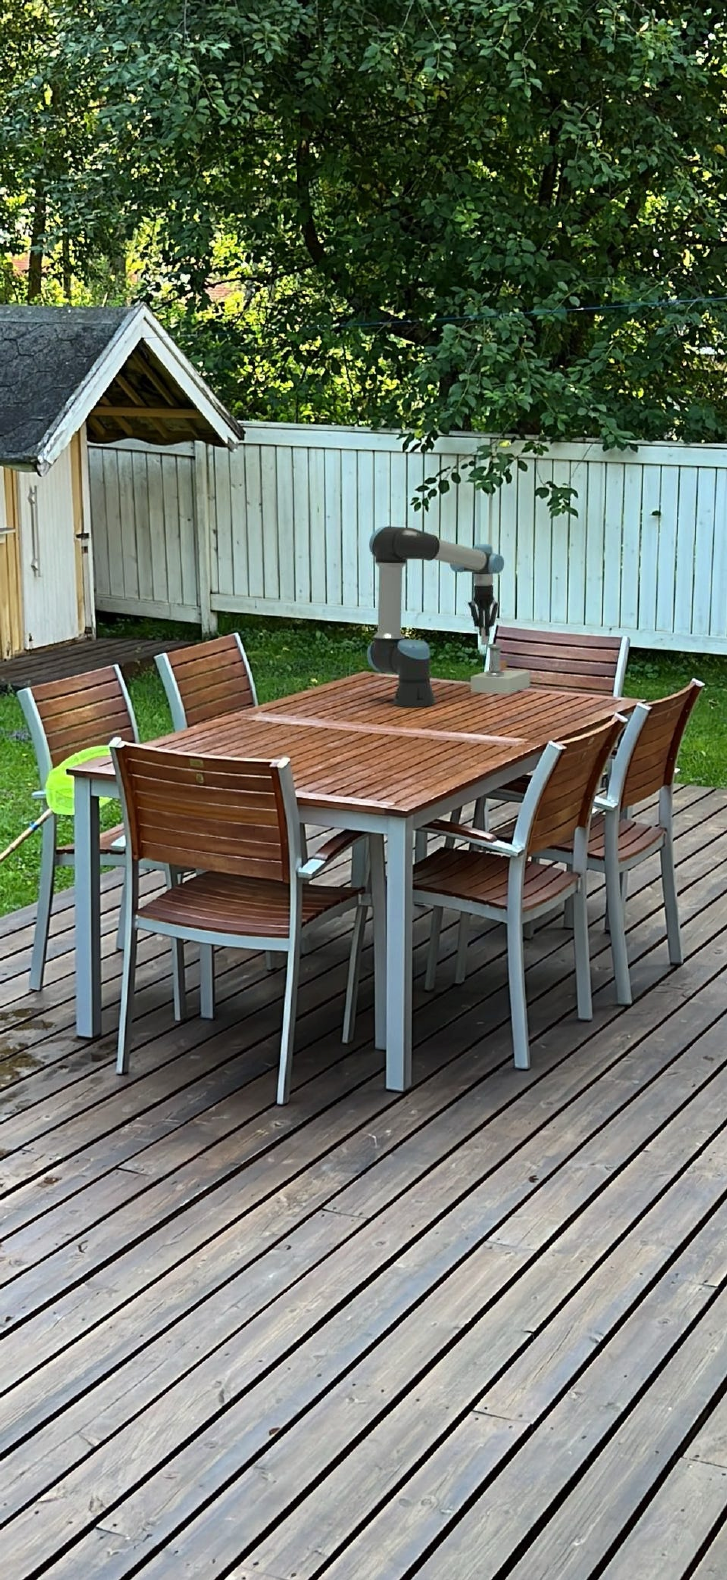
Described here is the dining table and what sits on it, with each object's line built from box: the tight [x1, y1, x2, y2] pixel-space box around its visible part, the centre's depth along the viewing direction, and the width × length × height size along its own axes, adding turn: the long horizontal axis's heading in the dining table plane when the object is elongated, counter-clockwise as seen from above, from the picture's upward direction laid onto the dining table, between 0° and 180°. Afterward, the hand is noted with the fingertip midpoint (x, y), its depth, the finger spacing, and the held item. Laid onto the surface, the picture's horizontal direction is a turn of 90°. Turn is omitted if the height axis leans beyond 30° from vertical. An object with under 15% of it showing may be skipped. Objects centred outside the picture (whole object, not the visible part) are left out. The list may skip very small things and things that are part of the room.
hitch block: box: [470, 669, 531, 695], centre depth 693 cm, size 16×20×6 cm
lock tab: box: [500, 659, 508, 670], centre depth 700 cm, size 11×4×3 cm, turn 152°
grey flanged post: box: [485, 643, 504, 677], centre depth 687 cm, size 7×7×15 cm
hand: (484, 644), depth 705 cm, fingers closed
